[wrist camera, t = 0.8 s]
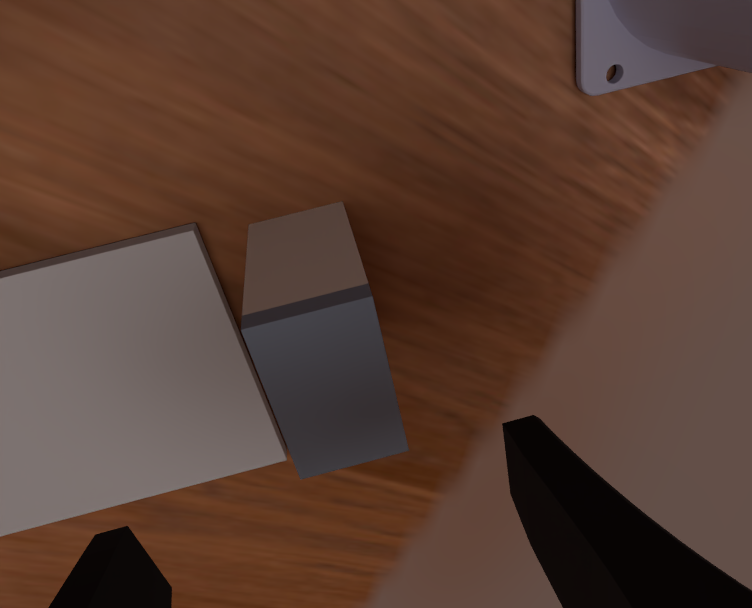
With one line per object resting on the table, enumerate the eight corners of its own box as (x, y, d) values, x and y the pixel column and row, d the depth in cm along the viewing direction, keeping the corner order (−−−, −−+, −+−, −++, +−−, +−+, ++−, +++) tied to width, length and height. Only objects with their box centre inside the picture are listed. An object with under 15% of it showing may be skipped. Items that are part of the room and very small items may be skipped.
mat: (195, 222, 17) (193, 230, 17) (286, 448, 22) (286, 460, 22) (-202, 321, 17) (-217, 332, 16) (-13, 528, 22) (-20, 541, 22)
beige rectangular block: (342, 200, 18) (372, 295, 13) (373, 329, 20) (409, 450, 15) (248, 224, 18) (240, 329, 12) (292, 350, 20) (300, 479, 15)
